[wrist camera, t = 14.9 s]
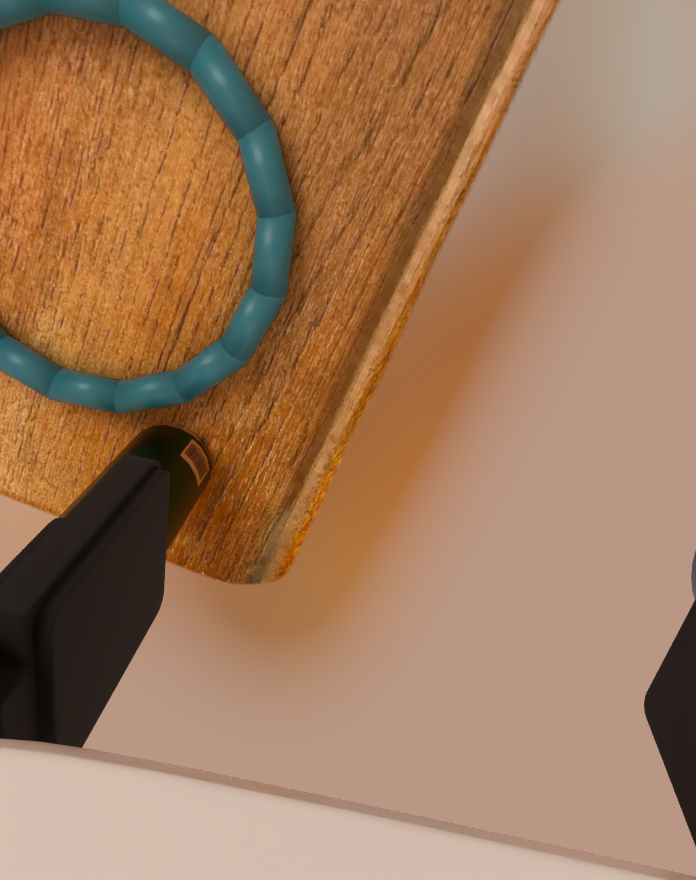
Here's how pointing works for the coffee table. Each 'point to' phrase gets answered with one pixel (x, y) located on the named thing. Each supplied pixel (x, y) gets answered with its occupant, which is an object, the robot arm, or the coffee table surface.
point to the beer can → (169, 469)
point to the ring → (203, 55)
